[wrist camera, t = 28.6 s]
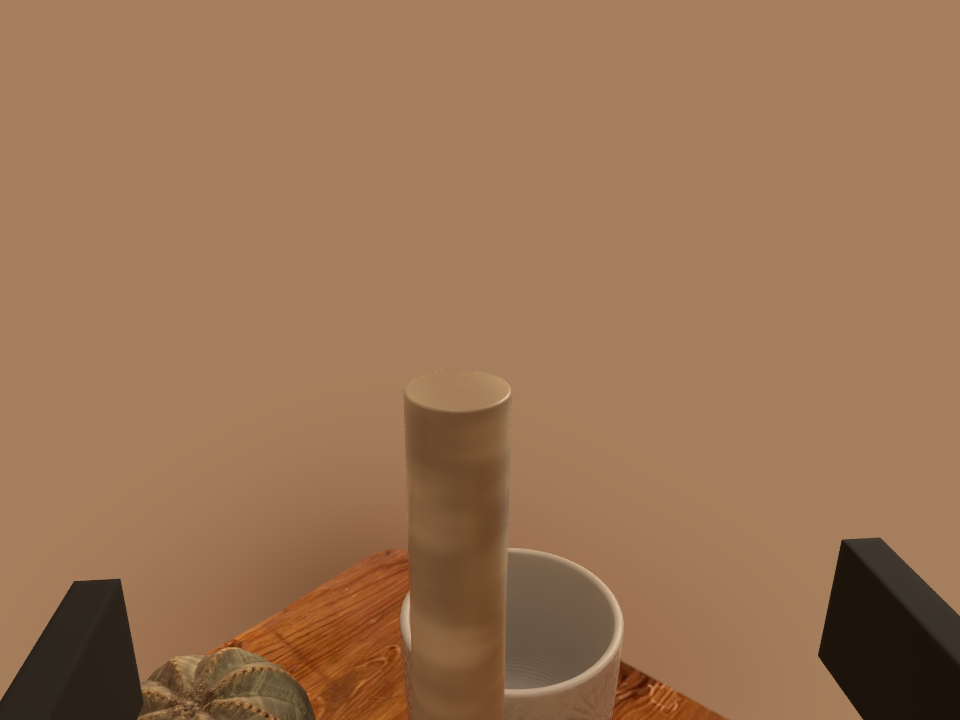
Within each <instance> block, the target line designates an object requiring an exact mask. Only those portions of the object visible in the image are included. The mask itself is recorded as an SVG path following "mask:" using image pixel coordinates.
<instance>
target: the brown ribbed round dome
mask: <svg viewBox="0 0 960 720" xmlns="http://www.w3.org/2000/svg"><path fill="white" fill-rule="evenodd" d="M140 685H141V690H142V696H143V701H144V703H143V706H142V709H141V711H140V714H139V716H138V719H137V720H316V719H315V716H314V712H313V709H312V706H311V703H310V701H309V699H308V696H307V694H306V692H305V690H304V689H303V688H302V686H301V685H300V684H299V683H298V682H297V680H296V679H295V678H294V677H292V676H291V675H290V674H289V673H288V672H286V671H285V670H284V669H283V668H282V667H280V666H279V665H277V664H274V663H270V662H269V661H267V660H266V659H264V658H262V657H261V656H259V655H257V654H254V653H251V652H247V651H245V650H243V649H241V648H236V647H228V648H225V649H221V650H219V651H217V652H214V653H212V654H209V655H189V656H188V655H187V656H178V657H174V658H172V659H170V660H169V661H168V662H167V663H166V664H164V665H163V666H162V667H160V668H159V669H157V670H156V671H155V672H154V673H153V674H152V675H151V676H150V677H149V679H148V680H147V681H146V682H143V683H140Z"/></svg>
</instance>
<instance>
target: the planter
mask: <svg viewBox="0 0 960 720" xmlns="http://www.w3.org/2000/svg"><path fill="white" fill-rule="evenodd" d="M400 628H401V641H402V655H403V668H404V680H405V692H406V702H407V711H408V719H409V720H413V689H412V656H411V622H410V590H409V592H408V594H407V595H406V597H405V600H404V602H403V605H402V609H401V615H400ZM623 635H624V623H623V615H622V612H621V609H620V607H619V604H618V602H617V600H616V598H615V597H614V595H613V594H612V592H611V591H610V590H609V588H608V587H607V586H606V585H605V584H604V583H603V582H602V581H601V580H600V579H599V578H598V577H596V576H595V575H594V574H592V573H591V572H590V571H588V570H587V569H585V568H583V567H582V566H580V565H578V564H576V563H574V562H572V561H570V560H567V559H565V558H562V557H559V556H556V555H553V554H549V553H545V552H541V551H536V550H529V549H519V548H508V566H507V607H506V648H505V689H504V720H612V715H613V709H614V702H615V695H616V688H617V681H618V673H619V665H620V656H621V650H622V641H623Z"/></svg>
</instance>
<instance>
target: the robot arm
mask: <svg viewBox="0 0 960 720" xmlns="http://www.w3.org/2000/svg"><path fill="white" fill-rule="evenodd" d="M818 656H819V658H820V659H821V661H822V662H823V664H824V665H825V666H826V668H827V669H828V671H829V672H830V673H831V675H832V676H833V678H834V679H835V680H836V682H837V683H838V685H839V686H840V688H841V689H842V690H843V692H844V693H845V695H846V696H847V697H848V699H849V700H850V702H851V703H852V704H853V706H854V707H855V709H856V710H857V711H858V713H859V714H860V716H861V717H862V719H863V720H960V616H959V615H958V614H957V613H956V612H955V611H954V610H953V609H952V608H951V607H950V606H949V605H948V604H947V603H946V602H945V601H944V600H943V599H942V598H941V597H940V596H939V595H938V594H936V592H935V591H934V590H933V589H932V588H931V587H930V586H929V585H927V583H926V582H925V581H924V580H923V579H921V577H920V576H919V575H917V574H916V573H915V572H914V571H913V570H912V569H911V568H910V567H909V566H908V565H907V564H906V563H905V562H904V561H903V560H902V559H901V558H900V557H899V556H898V555H897V554H896V553H895V552H894V551H893V550H892V549H891V548H890V547H889V546H888V545H887V544H886V543H885V542H884V541H883V540H882V539H881V538H863V539H847V540H846V539H845V540H842V541H841V546H840V551H839V556H838V561H837V566H836V571H835V575H834V581H833V585H832V590H831V596H830V600H829V605H828V610H827V615H826V619H825V624H824V629H823V634H822V639H821V644H820V649H819V653H818ZM143 703H144V701H143V696H142V690H141V685H140V680H139V675H138V670H137V664H136V659H135V654H134V649H133V643H132V638H131V632H130V627H129V622H128V617H127V611H126V606H125V601H124V596H123V590H122V585H121V580H120V579H108V580H90V581H74V582H73V584H72V585H71V587H70V589H69V590H68V592H67V594H66V595H65V597H64V598H63V600H62V602H61V603H60V605H59V607H58V608H57V610H56V611H55V613H54V615H53V616H52V618H51V620H50V621H49V623H48V625H47V626H46V628H45V629H44V631H43V633H42V634H41V636H40V638H39V639H38V641H37V642H36V644H35V646H34V647H33V649H32V650H31V652H30V654H29V655H28V657H27V659H26V660H25V662H24V664H23V665H22V667H21V668H20V670H19V672H18V673H17V675H16V677H15V678H14V680H13V682H12V683H11V685H10V686H9V688H8V690H7V691H6V693H5V694H4V696H3V698H2V699H1V701H0V720H137V719H138V716H139V714H140V711H141V709H142V706H143Z"/></svg>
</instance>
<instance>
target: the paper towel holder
mask: <svg viewBox="0 0 960 720" xmlns="http://www.w3.org/2000/svg"><path fill="white" fill-rule="evenodd" d="M511 402H512V391H511V388H510V386H509V384H508V383H507V382H506V381H504V380H503V379H501V378H499V377H497V376H495V375H492V374H489V373H485V372H480V371H473V370H443V371H436V372H431V373H427V374H424V375H421V376H419V377H416V378H415V379H413V380H411V381H410V382H409V383H408V384H407V385H406V387H405V389H404V419H405V454H406V486H407V519H408V520H407V521H408V555H409V588H410V622H411V656H412V689H413V720H504V689H505V648H506V607H507V566H508V524H509V482H510V443H511Z"/></svg>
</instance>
